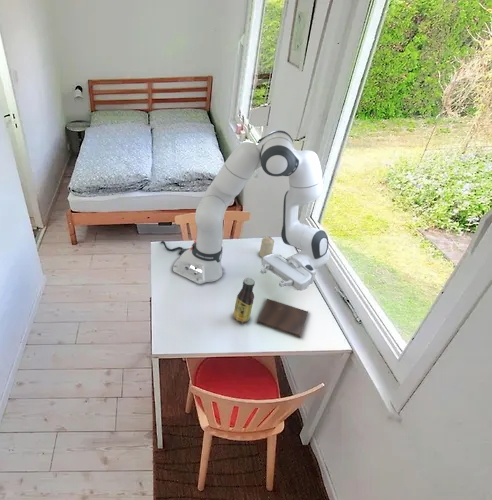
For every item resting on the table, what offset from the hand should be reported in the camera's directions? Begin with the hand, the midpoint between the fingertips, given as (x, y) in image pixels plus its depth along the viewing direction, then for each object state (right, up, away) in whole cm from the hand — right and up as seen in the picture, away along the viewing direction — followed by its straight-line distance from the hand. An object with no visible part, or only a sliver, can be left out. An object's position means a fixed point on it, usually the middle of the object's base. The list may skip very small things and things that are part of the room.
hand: (270, 278), depth 145 cm
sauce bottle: (-10, -17, +4) cm, 20 cm away
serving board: (+6, -16, +4) cm, 17 cm away
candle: (+10, +8, +38) cm, 40 cm away
